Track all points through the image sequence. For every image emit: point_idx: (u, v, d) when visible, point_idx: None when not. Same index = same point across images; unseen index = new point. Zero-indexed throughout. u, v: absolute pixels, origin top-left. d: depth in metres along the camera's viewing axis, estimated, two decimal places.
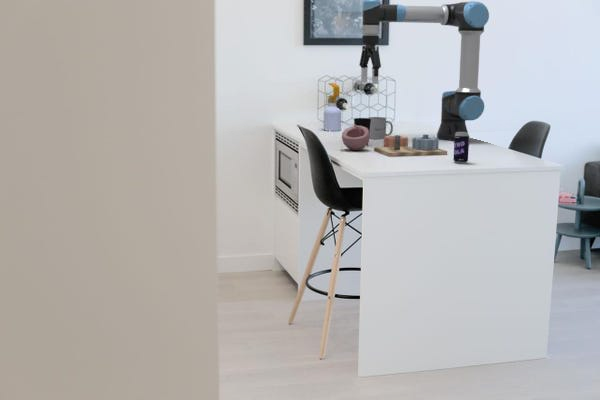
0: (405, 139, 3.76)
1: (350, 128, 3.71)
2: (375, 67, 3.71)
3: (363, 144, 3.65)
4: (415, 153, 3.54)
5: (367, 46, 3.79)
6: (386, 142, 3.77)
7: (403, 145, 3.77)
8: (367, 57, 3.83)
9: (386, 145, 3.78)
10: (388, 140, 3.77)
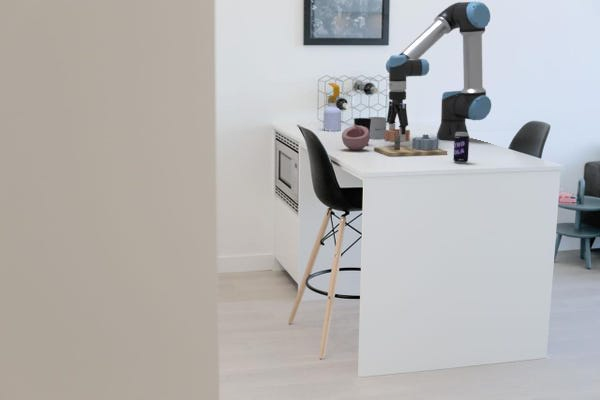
0: (406, 132, 3.76)
1: (350, 128, 3.71)
2: (402, 125, 3.70)
3: (363, 144, 3.65)
4: (415, 153, 3.54)
5: (394, 101, 3.77)
6: (388, 135, 3.77)
7: None
8: (394, 113, 3.80)
9: (388, 138, 3.77)
10: (389, 133, 3.77)
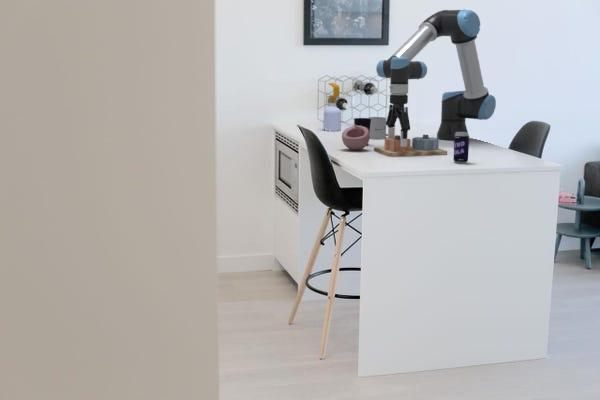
0: (407, 141, 3.57)
1: (350, 128, 3.71)
2: (404, 129, 3.49)
3: (363, 144, 3.65)
4: (415, 153, 3.54)
5: (395, 106, 3.58)
6: (387, 144, 3.58)
7: (405, 147, 3.57)
8: (395, 117, 3.61)
9: (387, 147, 3.59)
10: (389, 142, 3.58)
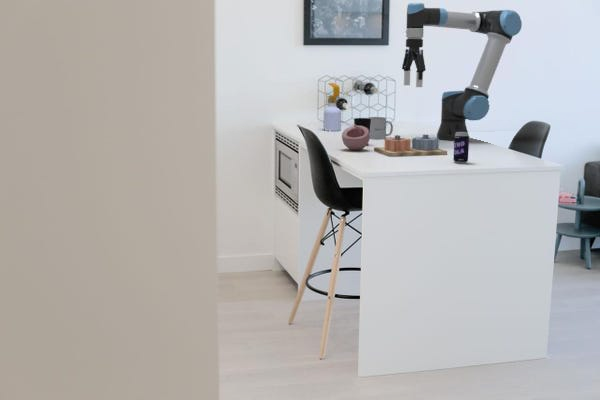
0: (407, 141, 3.57)
1: (350, 128, 3.71)
2: (420, 70, 3.72)
3: (363, 144, 3.65)
4: (415, 153, 3.54)
5: (411, 49, 3.81)
6: (387, 144, 3.58)
7: (405, 147, 3.57)
8: (410, 60, 3.84)
9: (387, 147, 3.59)
10: (389, 142, 3.58)
